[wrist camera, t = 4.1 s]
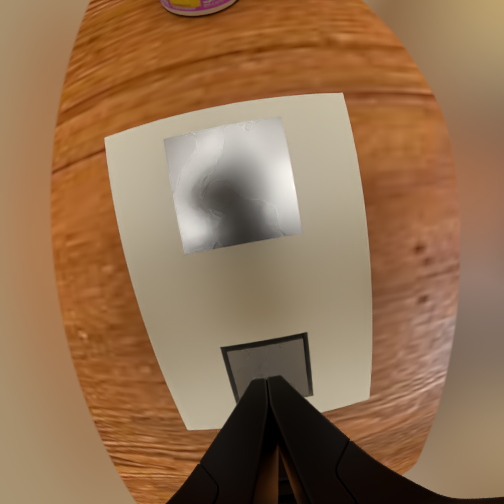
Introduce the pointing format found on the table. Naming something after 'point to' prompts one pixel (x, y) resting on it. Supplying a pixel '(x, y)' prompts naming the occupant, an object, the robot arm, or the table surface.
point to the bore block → (251, 262)
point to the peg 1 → (232, 185)
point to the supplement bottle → (195, 6)
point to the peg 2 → (269, 362)
